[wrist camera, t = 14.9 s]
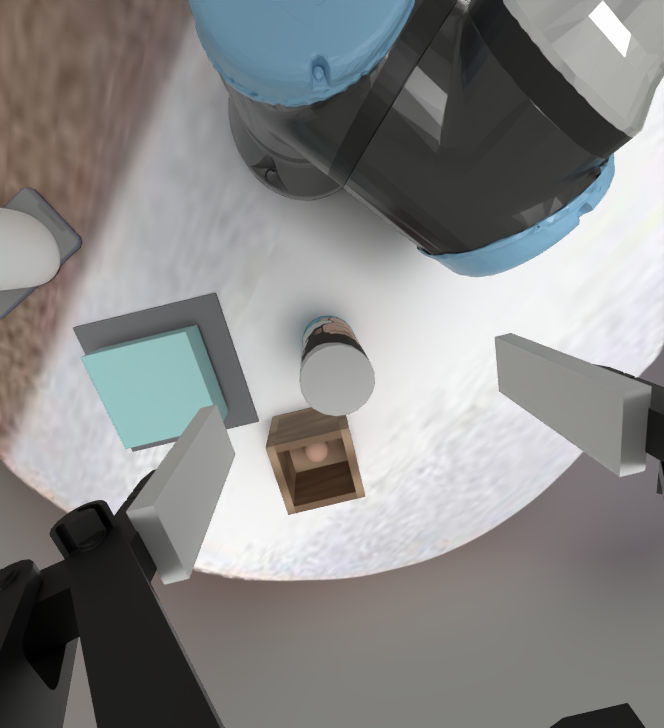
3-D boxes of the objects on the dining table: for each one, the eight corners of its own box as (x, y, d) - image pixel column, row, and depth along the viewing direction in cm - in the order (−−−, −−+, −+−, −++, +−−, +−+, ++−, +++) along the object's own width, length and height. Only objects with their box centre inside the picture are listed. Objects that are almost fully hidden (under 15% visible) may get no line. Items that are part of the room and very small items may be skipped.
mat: (74, 327, 42) (72, 327, 41) (215, 292, 41) (215, 293, 41) (134, 450, 47) (132, 451, 47) (258, 420, 47) (258, 421, 47)
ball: (301, 435, 47) (300, 448, 44) (325, 429, 47) (326, 442, 44) (307, 455, 48) (307, 470, 45) (330, 450, 48) (332, 464, 45)
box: (272, 416, 47) (265, 447, 39) (342, 400, 47) (348, 428, 39) (291, 475, 50) (288, 514, 43) (356, 460, 50) (365, 496, 42)
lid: (107, 345, 42) (80, 357, 37) (199, 322, 42) (185, 331, 37) (145, 428, 46) (125, 449, 41) (230, 407, 46) (221, 426, 41)
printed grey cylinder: (351, 366, 46) (371, 416, 31) (302, 364, 45) (298, 415, 31) (355, 316, 43) (378, 346, 29) (303, 314, 43) (300, 343, 29)
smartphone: (-63, 270, 38) (25, 182, 36) (-54, 269, 39) (32, 184, 37) (-4, 322, 40) (82, 242, 38) (3, 320, 41) (88, 242, 39)
